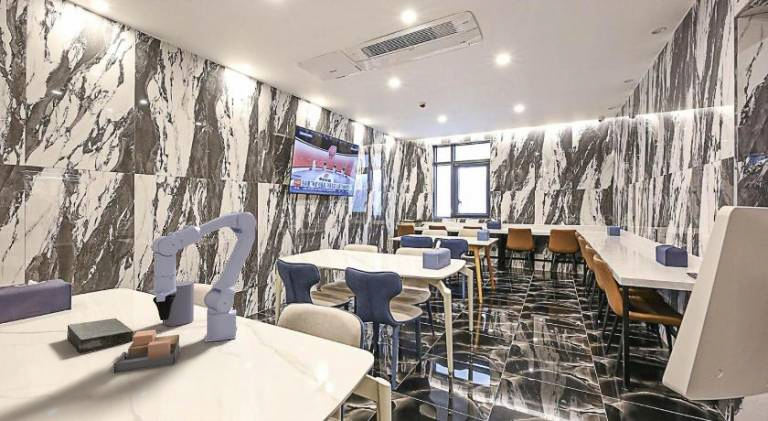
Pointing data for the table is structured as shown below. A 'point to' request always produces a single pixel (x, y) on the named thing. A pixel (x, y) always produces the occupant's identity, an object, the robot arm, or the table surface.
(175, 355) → the tray
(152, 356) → the tile
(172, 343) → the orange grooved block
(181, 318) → the container
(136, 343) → the tile
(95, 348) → the stone block
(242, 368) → the table surface
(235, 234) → the robot arm
